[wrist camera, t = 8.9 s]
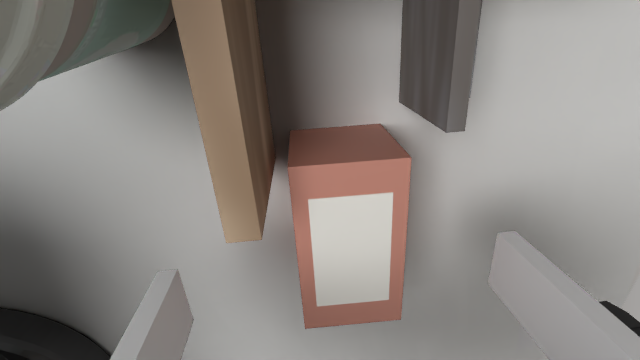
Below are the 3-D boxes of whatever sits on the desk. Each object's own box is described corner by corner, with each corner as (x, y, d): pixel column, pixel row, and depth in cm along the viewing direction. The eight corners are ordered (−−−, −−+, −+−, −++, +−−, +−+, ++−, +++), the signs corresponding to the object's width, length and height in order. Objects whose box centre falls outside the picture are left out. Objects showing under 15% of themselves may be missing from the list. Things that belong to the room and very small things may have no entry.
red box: (303, 260, 22) (304, 329, 16) (290, 129, 18) (287, 167, 13) (377, 253, 22) (401, 320, 17) (379, 123, 18) (411, 158, 13)
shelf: (254, 159, 18) (226, 243, 11) (215, -83, 14) (121, -218, 6) (496, 139, 19) (624, 206, 11) (536, -103, 14) (794, -249, 7)
